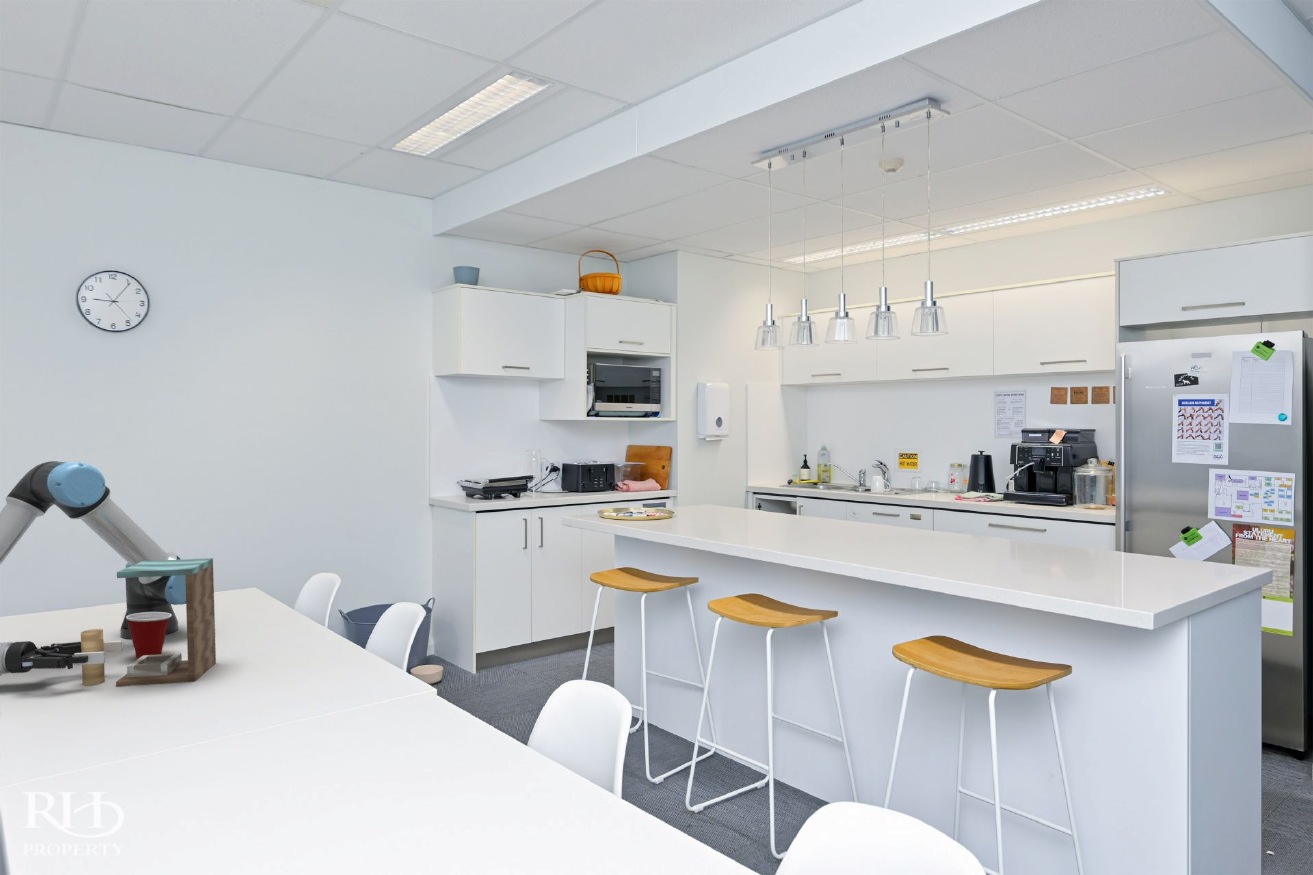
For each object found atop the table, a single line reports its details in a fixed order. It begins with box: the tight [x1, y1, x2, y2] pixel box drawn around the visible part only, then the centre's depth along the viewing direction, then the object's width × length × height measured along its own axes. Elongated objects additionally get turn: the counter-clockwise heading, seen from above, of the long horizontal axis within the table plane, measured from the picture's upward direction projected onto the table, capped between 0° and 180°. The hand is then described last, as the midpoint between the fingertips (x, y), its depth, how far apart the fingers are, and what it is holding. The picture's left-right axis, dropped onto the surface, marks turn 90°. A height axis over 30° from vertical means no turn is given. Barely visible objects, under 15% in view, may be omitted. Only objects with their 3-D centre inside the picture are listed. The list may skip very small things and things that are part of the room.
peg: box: [80, 628, 106, 687], centre depth 203 cm, size 5×5×13 cm
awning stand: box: [115, 557, 217, 687], centre depth 209 cm, size 15×18×28 cm
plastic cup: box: [126, 612, 172, 660], centre depth 224 cm, size 11×11×12 cm
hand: (113, 651), depth 204 cm, fingers open, 9 cm apart
